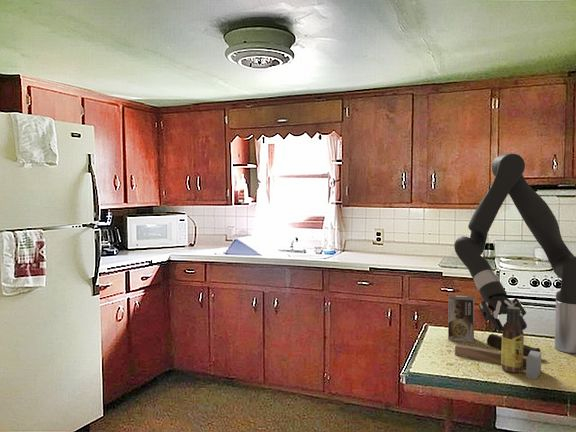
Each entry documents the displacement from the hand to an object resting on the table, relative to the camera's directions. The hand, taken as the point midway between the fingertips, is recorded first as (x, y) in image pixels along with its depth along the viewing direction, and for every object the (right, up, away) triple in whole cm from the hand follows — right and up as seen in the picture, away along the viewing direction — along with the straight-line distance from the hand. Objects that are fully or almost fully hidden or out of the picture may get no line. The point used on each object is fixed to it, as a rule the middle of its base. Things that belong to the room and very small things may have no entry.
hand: (513, 329), depth 152 cm
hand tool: (+7, -12, +17) cm, 22 cm away
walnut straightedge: (-3, -12, +9) cm, 16 cm away
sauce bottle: (0, -13, +1) cm, 13 cm away
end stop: (+5, -13, -3) cm, 14 cm away
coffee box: (-5, -11, +32) cm, 34 cm away
